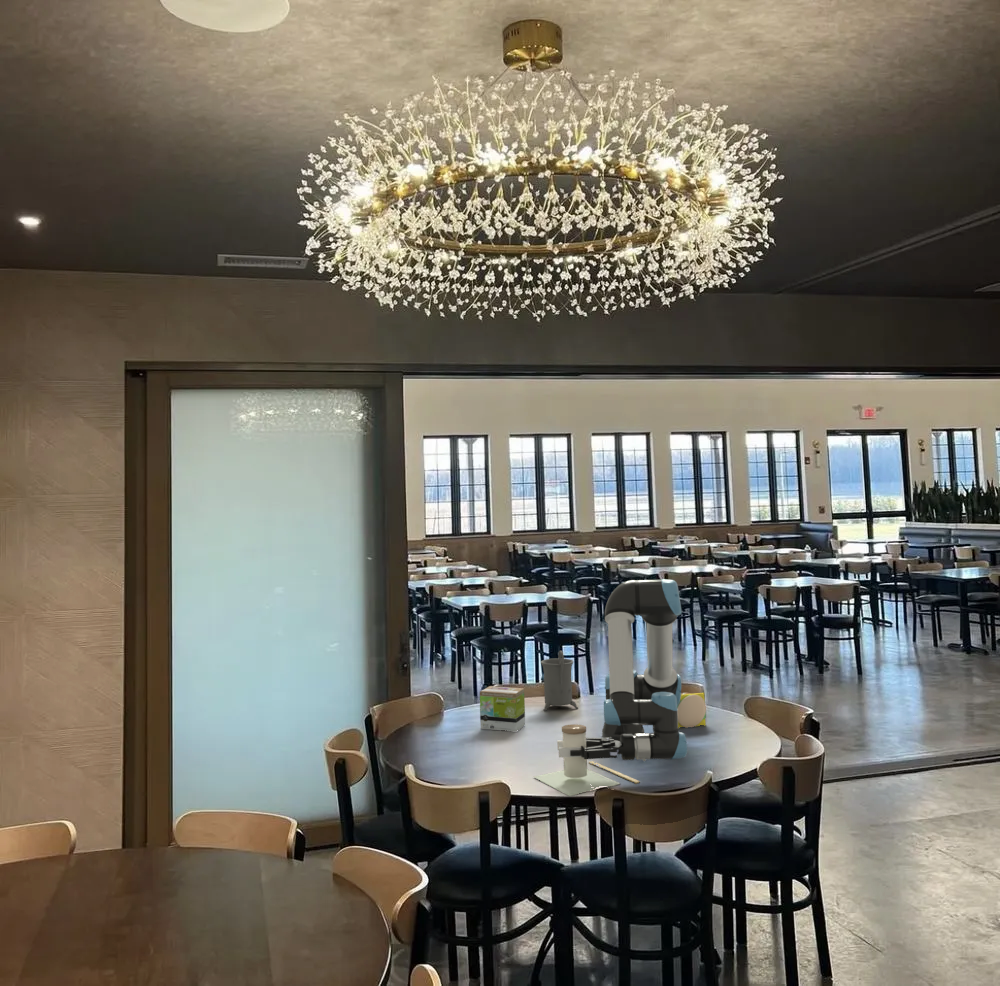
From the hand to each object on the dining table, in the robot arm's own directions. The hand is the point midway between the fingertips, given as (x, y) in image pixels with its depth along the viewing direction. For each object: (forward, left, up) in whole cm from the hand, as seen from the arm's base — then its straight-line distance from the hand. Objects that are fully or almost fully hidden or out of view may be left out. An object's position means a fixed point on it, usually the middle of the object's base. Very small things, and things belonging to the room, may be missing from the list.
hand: (558, 748), depth 241 cm
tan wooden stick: (+2, +18, -10) cm, 21 cm away
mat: (+2, +4, -10) cm, 11 cm away
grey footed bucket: (-78, +50, -10) cm, 93 cm away
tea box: (-65, +16, -10) cm, 67 cm away
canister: (+2, +4, -8) cm, 9 cm away
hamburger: (-26, +74, -10) cm, 79 cm away
